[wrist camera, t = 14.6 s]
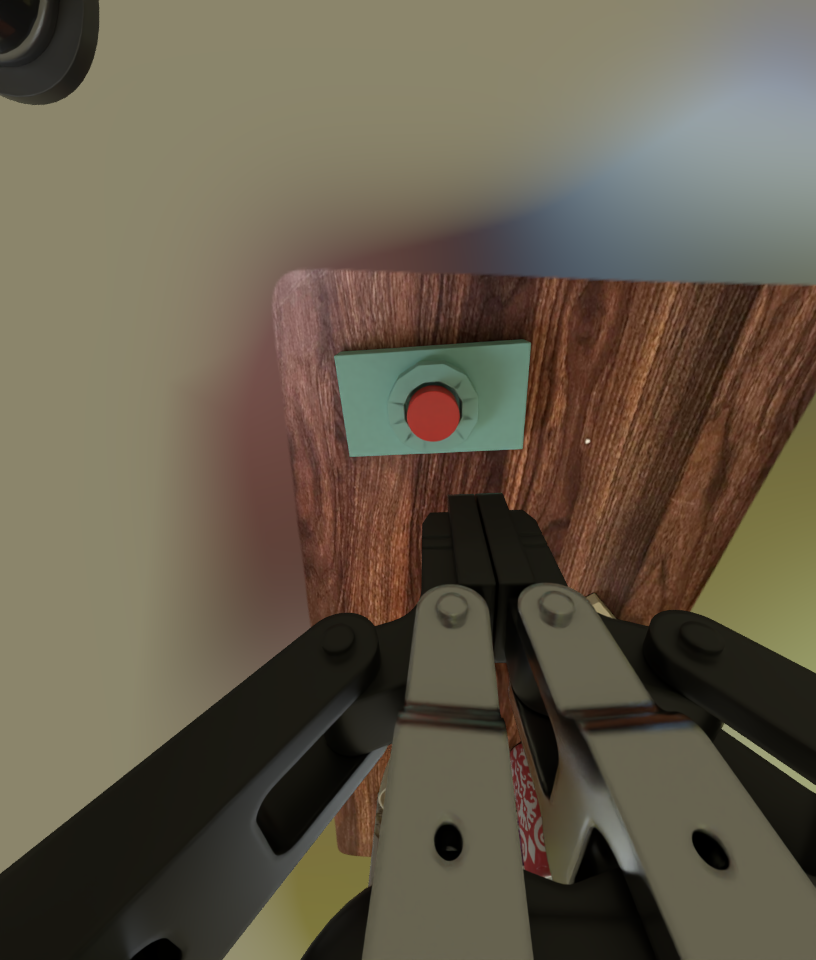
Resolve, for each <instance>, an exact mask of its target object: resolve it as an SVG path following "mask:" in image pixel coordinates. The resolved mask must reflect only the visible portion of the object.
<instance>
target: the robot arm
mask: <svg viewBox="0 0 816 960" xmlns="http://www.w3.org/2000/svg"><path fill="white" fill-rule="evenodd" d="M58 9H59V0H0V66H2V67H17V66H21V65H25V64H27V63H30V62H31V61H33V60H34V59H36V58H37V57H38V56H39V55H40V54H41V53H42V52H43V51H44V50H45V49H46V47H47V45H48V44H49V42H50V40H51V38H52V35H53V33H54V30H55V26H56V22H57V17H58ZM495 663H507V667H508V671H509V676H510V683H509V699H510V704H511V707H512V711H513V714H514V718H515V721H516V725H517V728H518V732H519V735H520V739H521V742H522V746H523V749H524V753H525V756H526V760H527V763H528V767H529V771H530V774H531V778H532V781H533V785H534V788H535V792H536V795H537V799H538V803H539V807H540V812H541V818H542V829H543V839H544V845H545V851H546V856H547V861H548V865H549V869H550V873H551V877H552V880H550V879H547V878H545V877H542V876H539V875H537V874H534V873H532V872H529V871H526V870H524V869H523V865H522V856H521V848H520V839H519V831H518V822H517V813H516V805H515V796H514V788H513V779H512V770H511V762H510V753H509V745H508V737H507V731H506V726H505V722H504V719H503V718H501V715H500V710H499V702H498V692H497V682H496V673H495ZM724 723H725V724H727V725H728V726H729V727H731V728H732V729H734V730H735V731H737V732H738V733H740V734H741V735H743V736H744V737H746V738H747V739H749V740H750V741H752V742H753V743H754V744H756V745H757V746H759V747H761V748H762V749H763V750H765V751H766V752H768V753H769V754H771V755H772V756H774V757H775V758H777V759H778V760H779V761H781V762H783V763H784V764H785V765H787V766H788V767H790V768H791V769H793V770H794V771H796V772H797V773H799V774H800V775H801V776H803V777H804V778H806V779H807V780H809V781H810V782H812V783H813V784H815V785H816V673H814V672H812V671H810V670H808V669H806V668H805V667H803V666H801V665H799V664H797V663H795V662H793V661H791V660H789V659H787V658H785V657H783V656H781V655H779V654H778V653H776V652H774V651H772V650H770V649H768V648H766V647H764V646H762V645H760V644H758V643H756V642H754V641H752V640H750V639H749V638H747V637H745V636H743V635H741V634H739V633H737V632H735V631H733V630H731V629H729V628H727V627H725V626H723V625H722V624H719V623H718V622H716V621H714V620H712V619H709V618H707V617H705V616H702V615H699V614H696V613H692V612H688V611H682V610H667V611H663V612H660V613H658V614H656V615H655V616H654V617H653V618H652V620H651V622H650V625H649V626H645V625H640V624H636V623H632V622H627V621H623V620H619V619H615V618H611V617H607V616H605V615H602V614H600V613H598V612H596V610H595V608H594V607H593V605H592V604H591V603H590V601H589V600H588V599H586V598H585V597H584V596H583V595H582V594H580V593H579V592H577V591H575V590H574V589H572V588H569V587H568V586H567V583H566V581H565V579H564V577H563V575H562V573H561V571H560V569H559V567H558V565H557V563H556V561H555V559H554V557H553V555H552V553H551V551H550V549H549V547H548V546H547V543H546V540H545V538H544V536H543V535H542V532H541V530H540V528H539V526H538V524H537V522H536V520H535V519H533V518H532V517H531V516H530V515H528V514H527V513H526V512H525V511H523V510H509V508H508V506H507V503H506V501H505V498H504V496H503V494H502V493H483V494H475V496H474V494H456V495H448V512H439V513H430V514H429V515H428V516H427V518H426V519H425V521H424V522H423V524H422V591H421V596H420V599H419V601H418V603H417V605H416V606H415V607H414V608H413V609H412V610H411V611H410V612H409V613H408V614H406V615H405V616H403V617H401V618H399V619H397V620H394V621H391V622H388V623H385V624H381V625H378V626H374V625H373V624H372V622H371V621H370V620H368V619H367V618H366V617H364V616H362V615H359V614H355V613H339V614H335V615H331V616H329V617H326V618H324V619H322V620H321V621H319V622H318V623H316V624H315V625H314V626H312V627H311V628H310V629H309V630H307V631H306V632H305V633H304V634H303V635H301V636H300V637H299V638H297V639H296V640H295V641H293V642H292V643H291V644H290V645H288V646H287V647H286V648H285V649H283V650H282V651H281V652H280V653H278V654H277V655H276V656H275V657H273V658H272V659H271V660H270V661H268V662H267V663H266V664H264V665H263V666H262V667H261V668H259V669H258V670H257V671H256V672H254V673H253V674H252V675H251V676H249V677H248V678H247V679H246V680H244V681H243V682H242V683H240V684H239V685H238V686H237V687H235V688H234V689H233V690H232V691H231V692H229V693H228V694H227V695H225V696H224V697H223V698H222V699H220V700H219V701H218V702H217V703H215V704H214V705H213V706H211V707H210V708H209V709H208V710H206V711H205V712H204V713H203V714H201V715H200V716H199V717H198V718H196V719H195V720H194V721H193V722H191V723H190V724H189V725H187V726H186V727H185V728H184V729H182V730H181V731H180V732H179V733H177V734H176V735H175V736H174V737H172V738H171V739H170V740H169V741H167V742H166V743H165V744H164V745H162V746H161V747H160V748H159V749H157V750H156V751H155V752H153V753H152V754H151V755H150V756H148V757H147V758H146V759H145V760H144V761H142V762H141V763H140V764H138V765H137V766H136V767H134V768H133V769H132V770H131V771H129V772H128V773H127V774H126V775H124V776H123V777H122V778H121V779H119V780H118V781H117V782H116V783H114V784H113V785H112V786H110V787H109V788H108V789H107V790H106V791H104V792H103V793H102V794H100V795H99V796H98V797H97V798H96V799H94V800H93V801H92V802H90V803H89V804H88V805H87V806H85V807H84V808H83V809H81V810H80V811H79V812H78V813H76V814H75V815H74V816H73V817H71V818H70V819H69V820H68V821H66V822H65V823H64V824H63V825H62V826H60V827H59V828H57V829H56V830H55V831H54V832H52V833H51V834H50V835H49V836H47V837H46V838H45V839H44V840H42V841H41V842H40V843H39V844H37V845H36V846H35V847H33V848H32V849H31V850H30V851H28V852H27V853H26V854H25V855H23V856H22V857H21V858H20V859H18V860H17V861H16V862H15V863H13V864H12V865H11V866H10V867H9V868H7V869H6V870H4V871H3V872H2V873H1V874H0V960H222V959H223V958H224V957H225V956H226V954H227V953H228V952H229V950H230V949H231V948H232V947H233V945H234V944H235V943H236V941H237V940H238V939H239V937H240V936H241V935H242V934H243V932H244V931H245V930H246V929H247V927H248V926H249V925H250V924H251V922H252V921H253V920H254V918H255V917H256V916H257V915H258V913H259V912H260V911H261V910H262V908H263V907H264V906H265V904H266V903H267V902H268V901H269V899H270V898H271V897H272V895H273V894H274V893H275V891H276V890H277V889H278V888H279V887H280V885H281V884H282V883H283V881H284V880H285V879H286V877H287V876H288V875H289V874H290V872H291V871H292V870H293V869H294V867H295V866H296V865H297V864H298V862H299V861H300V860H301V858H302V857H303V856H304V854H305V853H306V852H307V851H308V849H309V848H310V847H311V846H312V844H313V843H314V842H315V841H316V839H317V838H318V836H319V835H320V834H321V833H322V832H323V830H324V829H325V828H326V826H327V825H328V824H329V822H330V821H331V820H332V819H333V818H334V816H335V815H336V814H337V812H338V811H339V810H340V809H341V807H342V806H343V805H344V804H345V802H346V801H347V800H348V798H349V797H350V796H351V795H352V793H353V792H354V791H355V789H356V788H357V787H358V786H359V784H360V783H361V782H362V781H363V779H364V778H365V777H366V775H367V774H368V773H369V772H370V770H371V769H372V768H373V766H374V765H375V764H376V763H377V761H378V760H379V759H380V758H381V756H382V755H383V753H384V752H385V750H386V748H387V746H388V745H390V744H392V749H391V756H390V764H389V771H388V778H387V785H386V792H385V799H384V806H383V813H382V820H381V827H380V834H379V842H378V849H377V856H376V863H375V870H374V877H373V884H372V885H371V886H369V887H368V888H366V889H364V890H363V891H362V892H361V893H359V894H358V895H357V896H355V897H354V898H353V899H352V900H350V901H349V902H348V903H347V904H346V905H345V906H344V907H343V908H342V909H341V910H340V911H339V912H338V913H337V914H336V915H335V916H334V917H333V918H332V919H331V920H330V921H329V922H328V923H327V925H326V926H325V927H324V928H323V930H322V931H321V932H320V933H319V935H318V936H317V937H316V938H315V940H314V941H313V942H312V943H311V945H310V947H309V948H308V949H307V951H306V952H305V954H304V955H303V957H302V958H301V960H816V793H814V792H812V791H810V790H809V789H807V788H806V787H804V786H803V785H801V784H800V783H798V782H797V781H796V780H794V779H793V778H791V777H790V776H788V775H787V774H786V773H784V772H783V771H781V770H779V769H778V768H777V767H775V766H774V765H772V764H771V763H770V762H768V761H767V760H765V759H764V758H762V757H761V756H759V755H758V754H757V753H755V752H754V751H752V750H751V749H749V748H748V747H746V746H745V745H744V744H742V743H741V742H739V741H738V740H736V739H735V738H734V737H732V736H731V735H729V734H728V733H726V732H725V731H723V730H722V729H721V728H722V727H723V725H724Z"/></svg>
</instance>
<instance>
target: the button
mask: <svg viewBox="0 0 816 960" xmlns="http://www.w3.org/2000/svg"><path fill="white" fill-rule="evenodd" d="M459 419H460V412H459V408H458V404H457V401H456V399H455V397H454V395H453V394H452V393H451V392H450V391H449V390H448V389H446V388H444V387H442V386H438V385H429V386H425V387H423V388H421V389H419V390H418V391H417V392H416V393H415V394H414V395H413V396H412V398H411V400H410V402H409V406H408V411H407V422H408V425H409V427H410V429H411V431H412V432H413V433H414V434H415V435H416V436H417V437H419V438H420V439H422V440H425V441H430V442H435V441H441V440H444V439H446V438H447V437H449V436H450V435H451V434H452V433H453V432H454V431H455V430H456V428H457V426H458V423H459Z"/></svg>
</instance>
